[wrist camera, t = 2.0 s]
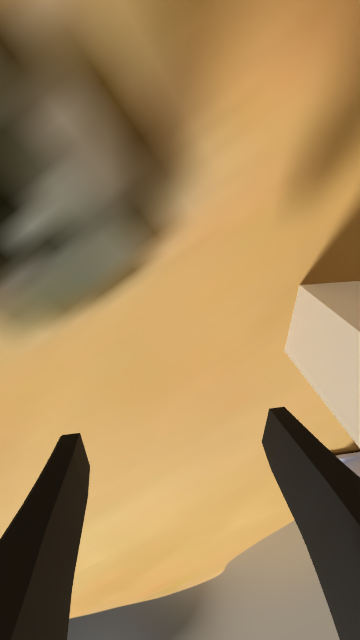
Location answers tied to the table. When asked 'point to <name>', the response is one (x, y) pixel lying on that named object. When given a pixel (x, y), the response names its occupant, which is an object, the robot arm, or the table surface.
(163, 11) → the table surface
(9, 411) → the table surface
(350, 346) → the tall block
